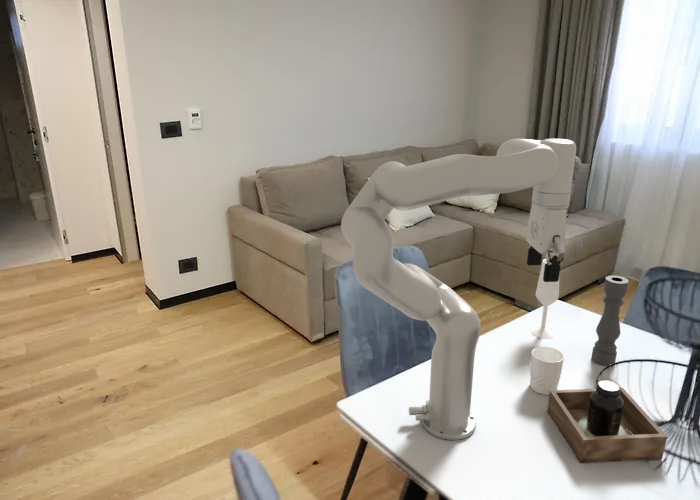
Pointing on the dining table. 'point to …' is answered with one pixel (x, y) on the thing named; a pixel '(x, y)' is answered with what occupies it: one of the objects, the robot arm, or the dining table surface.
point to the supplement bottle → (605, 409)
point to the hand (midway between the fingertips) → (541, 272)
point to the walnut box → (572, 421)
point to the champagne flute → (545, 301)
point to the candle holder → (609, 321)
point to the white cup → (545, 369)
